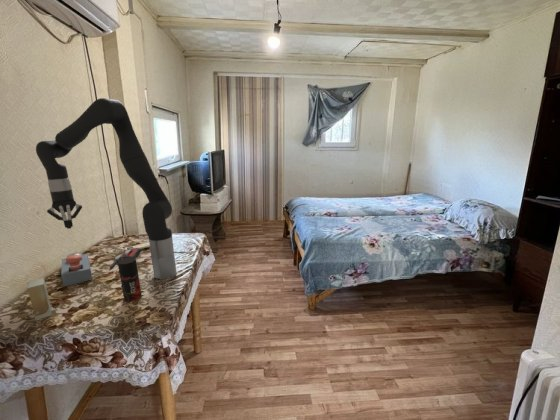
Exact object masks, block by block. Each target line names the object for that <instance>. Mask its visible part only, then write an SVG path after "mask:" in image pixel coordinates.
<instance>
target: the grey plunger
mask: <svg viewBox="0 0 560 420" xmlns="http://www.w3.org/2000/svg"><path fill="white" fill-rule="evenodd" d="M72 255H81V256H82V255H83V254H82V252H73V253H70V254H68V255H66V258H67V257H69V256H72Z"/></svg>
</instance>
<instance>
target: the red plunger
mask: <svg viewBox="0 0 560 420" xmlns="http://www.w3.org/2000/svg"><path fill="white" fill-rule="evenodd" d="M65 259H66V263H69V264H70V268H71V271H75V270H79V269H81V265H80V261H81V260H82V256H81V255H72V256H69V257H67V256H66V257H65Z"/></svg>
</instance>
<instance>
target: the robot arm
mask: <svg viewBox="0 0 560 420" xmlns="http://www.w3.org/2000/svg"><path fill="white" fill-rule="evenodd" d="M105 124H107V125H111V127H113V129H114V131H115V133H116V136H117V138H118V145H119V146H118V150H119V158H120V159H119V160H120V162H121V164H122V166H123V169H124V171H125V172H126V175H128V177H129V179H131V180H132V181H133V182H134V183H135V184H136V185H137V186H138V187H140V189H142V191H143V193H144V194H145V196H146V198H147V200H148V202H146V203H145V204H144V206H143V207H142V219H143V225H144V230H145V233H146V235H147V236H148V242H149V251H150V258H151V264H152V272H153V277H154V278H155V279H158V280H161V281H162V280H165V279H169V278H173V277H176V274H177V267H176V266H177V265H176V258H175V248H174V240H173V232H172V229H171V228H169V227H168V226H167V221H166V220H167V219H168V218H170V216H171V215H172V213H173V208H172V204H171V201H170V200H169V199H168V197H167V195H166V194H165V192H164V191H163V189H162V188H161V185H160V184H159V181H158V179H157V177H156V175H155V173H154V171H153V169H152V167H151V164H150V162H149V159H148V158H147V155H146V154H145V152H144V150H143V148H142V145H141V144H140V141H139V139H138V137H137V135H136V133H135V130H134V128H133V124H132V122H131V119H130V116H129V114H128V111H127V109H126V107H125V105H124V104H123V103H122V102H120V100H118V99H111V98H107V97H106V98H102V97H101V98H97V99H96V100H94V101H93V102H91V104H90V105H88V108H86V110H84V111H83V112H82V114H80V116H79V117H78V118H77V119H75V121H73V122H72V123H70V124H69V125H68V126H66V127H65V128H63V129H62V130H61V131H59V132H58V133H57V134H56V135H55V138H54V140H41V141H39V142H38V143H36V146H35V153H36V156H37V158H38V159H39V161H40V162H41V164H42V166H43V168H44V169H45V172H46V177H47V182H48V183H47V185H48V189H49V194H50V197H51V203H52V204H51V207H50V208H48V209H47V211H46V212H47V213H48V214H49V215H51V216H52V217H54V218H55V219H56V220H57V221H63V225H64V227H65V229H67V230H68V229H69V230H70V229H72V227H74V225H73V219H77V216H78V215H79V213H80V211H81V210H82V209H83V205H81V204H79V203H77V202H76V201H75V199H74V193H73V189H72V185H71V180H70V178H69V173H68V170H67V166H66V165H65V164H63V163H59V162H58V161H57V159H59V158H60V159H61V158H63V157H66V156H67V155H68V154H69V153H70V152H71V151H72V149H73V148H75V147H76V146H78V145H79V144H82V142H84V141H85V140H86V139H87V138H88V136H89V133H90V132H91V131H92V130H94V129H96V128H97V127H100V126H101V125H105ZM74 208H75V211H74V213H73V214H72V211H73V210H74ZM57 212H58V213H60V215H59V214H57Z"/></svg>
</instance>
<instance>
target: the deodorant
mask: <svg viewBox="0 0 560 420" xmlns="http://www.w3.org/2000/svg"><path fill="white" fill-rule="evenodd" d="M117 265H118V271H119V277H120V283H121V288H122V294H123V301H124V302H127V303H129V302H135V301H137V300H139V299H141V298H142V289H141V283H140V277H139V270H138V263H137V257H136V258H133V257H129V258H124V259H121V260H119V261H118V262H117Z"/></svg>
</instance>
